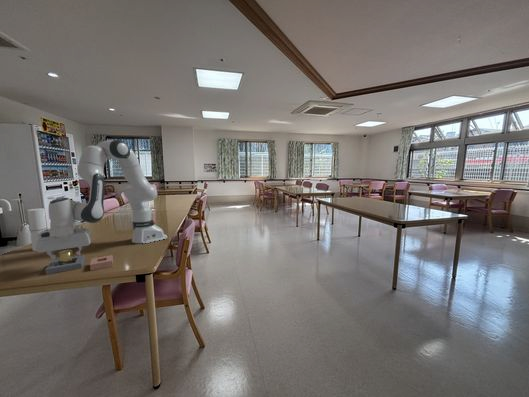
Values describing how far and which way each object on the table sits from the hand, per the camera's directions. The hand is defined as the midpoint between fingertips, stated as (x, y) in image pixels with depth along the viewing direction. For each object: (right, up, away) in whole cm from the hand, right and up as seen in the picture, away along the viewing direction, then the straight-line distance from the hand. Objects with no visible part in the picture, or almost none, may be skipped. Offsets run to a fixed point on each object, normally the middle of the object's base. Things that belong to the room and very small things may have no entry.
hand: (66, 256), depth 111 cm
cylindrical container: (-38, -2, +25) cm, 46 cm away
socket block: (0, -5, 0) cm, 5 cm away
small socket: (+17, -5, +2) cm, 18 cm away
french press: (-23, -1, +32) cm, 39 cm away
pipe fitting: (0, -5, 0) cm, 5 cm away
